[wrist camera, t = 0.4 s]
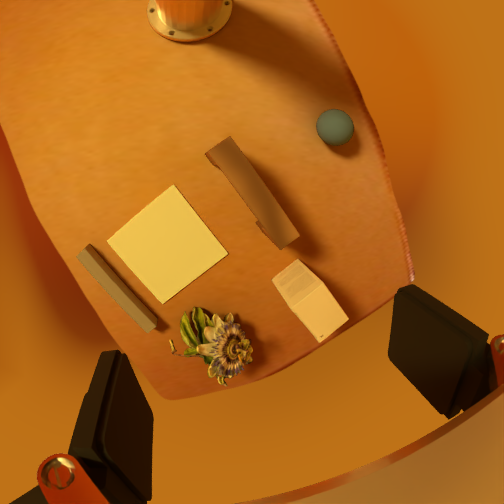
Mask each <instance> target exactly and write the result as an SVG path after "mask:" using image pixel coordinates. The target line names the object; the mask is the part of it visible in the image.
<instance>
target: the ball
mask: <svg viewBox="0 0 504 504" xmlns="http://www.w3.org/2000/svg"><path fill="white" fill-rule="evenodd" d="M316 127H317V132H318V135H319V136H320V138H321V139H322V140H323V141H324V142H326V143H327V144H330V145H334V146H338V145H343V144H345V143H346V142H348V141H349V140H350V139H351V137H352V135H353V132H354V125H353V122H352V120H351V118H350V117H349V115H348V114H346V113H345V112H343V111H341V110H338V109H331V110H327V111H325V112H324V113H322V114H321V115H320V117H319V118H318V121H317V125H316Z"/></svg>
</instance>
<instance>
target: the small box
mask: <svg viewBox="0 0 504 504" xmlns="http://www.w3.org/2000/svg"><path fill="white" fill-rule="evenodd" d="M272 282H273V283H274V285H275V286H276V288H277V289H278V291H279V292H280V294H281V295H282V297H283V298H284V300H285V301H286V303H287V304H288V306H289V307H290V309H291V310H292V311H293V312H294V313H295V314H296V315H297V317H298V318H299V319H300V320H301V321H302V322H303V324H304V325H305V326H306V327H307V328H308V329H309V331H310V332H311V333H312V334H313V336H314V337H315V338H316V340H317V341H318V342H319V343H320V342H321V341H323V340H324V339H325V338H326V337H328V336H329V335H330V334H331V333H333V332H334V331H335V330H336V329H338V328H339V327H340V326H341V325H343V324H344V323H345V322H346V321H347V320H349V318H348V316H347V315H346V313H345V312H344V310H343V309H342V308H341V306H340V305H339V303H338V302H337V300H336V299H335V298H334V296H333V295H332V293H331V292H330V291H329V289H328V288H327V286H326V285H325V284H324V282H323V281H322V280H320V279H319V278H318V277H317V276H316V275H315V274H314V273H313V272H312V271H311V270H310V269H309V268H308V267H306V266H305V265H304V264H303V263H302V262H301V261H300V260H299V259H296V260H295V261H294V262H293V263H291V264H290V265H289V266H288V267H286V268H285V269H284V270H283V271H281V272H280V273H279V274H278V275H276V276H275V277H274V278H273V279H272Z"/></svg>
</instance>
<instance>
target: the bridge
mask: <svg viewBox="0 0 504 504" xmlns="http://www.w3.org/2000/svg"><path fill="white" fill-rule="evenodd" d="M205 155H206V157H207V158H208V159H209V161H210V162H211V163H212V164H213V165H216V166H218V167H219V168H220V169H221V171H222V172H223V173H224V175H225V176H226V177H227V179H228V180H229V181H230V183H231V184H232V185H233V187H234V188H235V189H236V191H237V192H238V193H239V195H240V196H241V197H242V199H243V200H244V202H245V203H246V204H247V206H248V207H249V208H250V210H251V211H252V212H253V214H254V215H255V217H256V218H257V219H258V221H257V222H256V224H257V225H258V226H259V228H260V229H261V231H262V232H263V233H264V234H265V235H266V236H267V237H268V238H269V239H270V240H271V241H272V242H273V243H274V244H275V245H276V246H277V247H278V248H279V249H280V250H282V249H283V248H284V247H286V246H287V245H288V244H289V243H291V242H292V241H293V240H295V239H296V238H297V237H299V236H300V235H299V233H298V232H297V230H296V229H295V227H294V226H293V224H292V223H291V221H290V220H289V218H288V217H287V215H286V214H285V212H284V211H283V209H282V208H281V207H280V205H279V204H278V202H277V201H276V199H275V198H274V196H273V195H272V194H271V192H270V191H269V189H268V188H267V186H266V185H265V184H264V182H263V181H262V179H261V178H260V176H259V175H258V174H257V172H256V171H255V169H254V168H253V167H252V165H251V164H250V162H249V161H248V160H247V158H246V157H245V156H244V154H243V153H242V151H241V150H240V149H239V147H238V146H237V145H236V143H235V142H234V140H233V139H232V138H231V136H229V137H228V138H226V139H225V140H223V141H222V142H220V143H219V144H217V145H216V146H215V147H213V148H212V149H211V150H209V151H208V152H206V153H205Z"/></svg>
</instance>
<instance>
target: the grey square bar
mask: <svg viewBox="0 0 504 504" xmlns="http://www.w3.org/2000/svg"><path fill="white" fill-rule="evenodd" d="M76 257H77V258H78V260H79V261H80V262H81V263H82V264H83V266H84V267H85V268H86V269H87V270H88V271H89V273H90V274H91V275H92V276H93V277H94V278H95V279H96V280H97V282H98V283H99V284H100V285H101V286H102V287H103V288H104V289H105V290H106V292H107V293H108V294H109V295H110V296H111V297H112V298H113V299H114V300H115V301H116V302H117V303H118V304H119V305H120V306H121V308H122V309H123V310H124V311H125V312H126V313H127V314H128V315H129V316H130V317H131V318H132V319H133V320H134V321H135V322H136V323H137V324H138V325H139V326H140V327H141V328H142V329H143V330H144V331H145V332H146V333H149V332H150V331H151V330H153V329H154V328H155V327H156V326H157V320H158V319H157V318H156V317H155V316H154V315H153V314H152V313H151V311H150V310H149V309H148V308H147V307H146V306H145V305H144V304H143V303H142V302H141V301H140V300H139V299H138V298H137V297H136V296H135V295H134V294H133V293H132V291H131V290H130V289H129V288H128V287H127V286H126V285H125V284H124V283H123V282H122V281H121V279H120V278H119V277H118V276H117V275H116V274H115V273H114V272H113V270H112V269H111V268H110V267H109V266H108V265H107V264H106V262H105V261H104V260H103V259H102V258H101V257H100V255H99V254H98V253H97V252H96V251H95V249H94V248H93V247H92V246H91V245H90V244H89V245H88V246H87V247H85V248H84V249H83V250H82V251H81V252H80V253H79V254H78V255H77V256H76Z"/></svg>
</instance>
